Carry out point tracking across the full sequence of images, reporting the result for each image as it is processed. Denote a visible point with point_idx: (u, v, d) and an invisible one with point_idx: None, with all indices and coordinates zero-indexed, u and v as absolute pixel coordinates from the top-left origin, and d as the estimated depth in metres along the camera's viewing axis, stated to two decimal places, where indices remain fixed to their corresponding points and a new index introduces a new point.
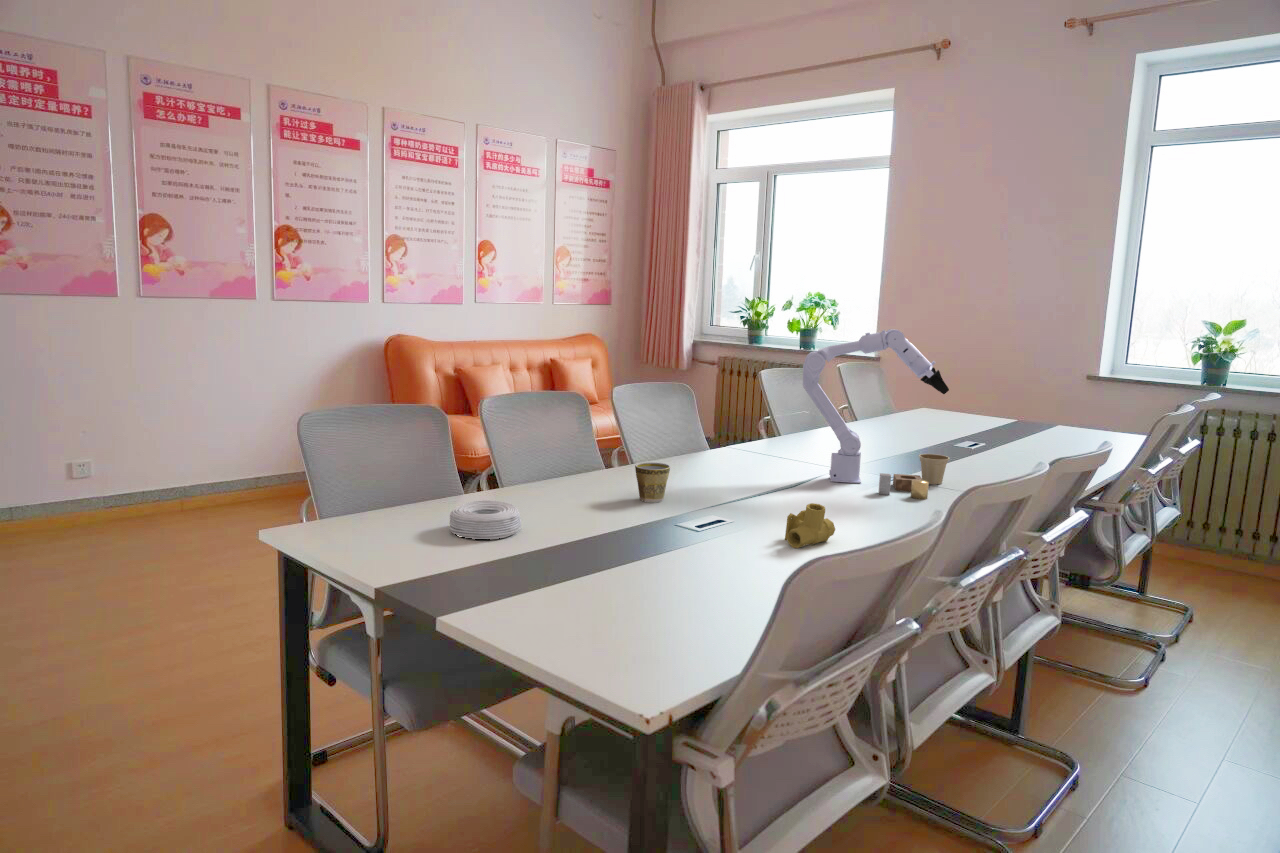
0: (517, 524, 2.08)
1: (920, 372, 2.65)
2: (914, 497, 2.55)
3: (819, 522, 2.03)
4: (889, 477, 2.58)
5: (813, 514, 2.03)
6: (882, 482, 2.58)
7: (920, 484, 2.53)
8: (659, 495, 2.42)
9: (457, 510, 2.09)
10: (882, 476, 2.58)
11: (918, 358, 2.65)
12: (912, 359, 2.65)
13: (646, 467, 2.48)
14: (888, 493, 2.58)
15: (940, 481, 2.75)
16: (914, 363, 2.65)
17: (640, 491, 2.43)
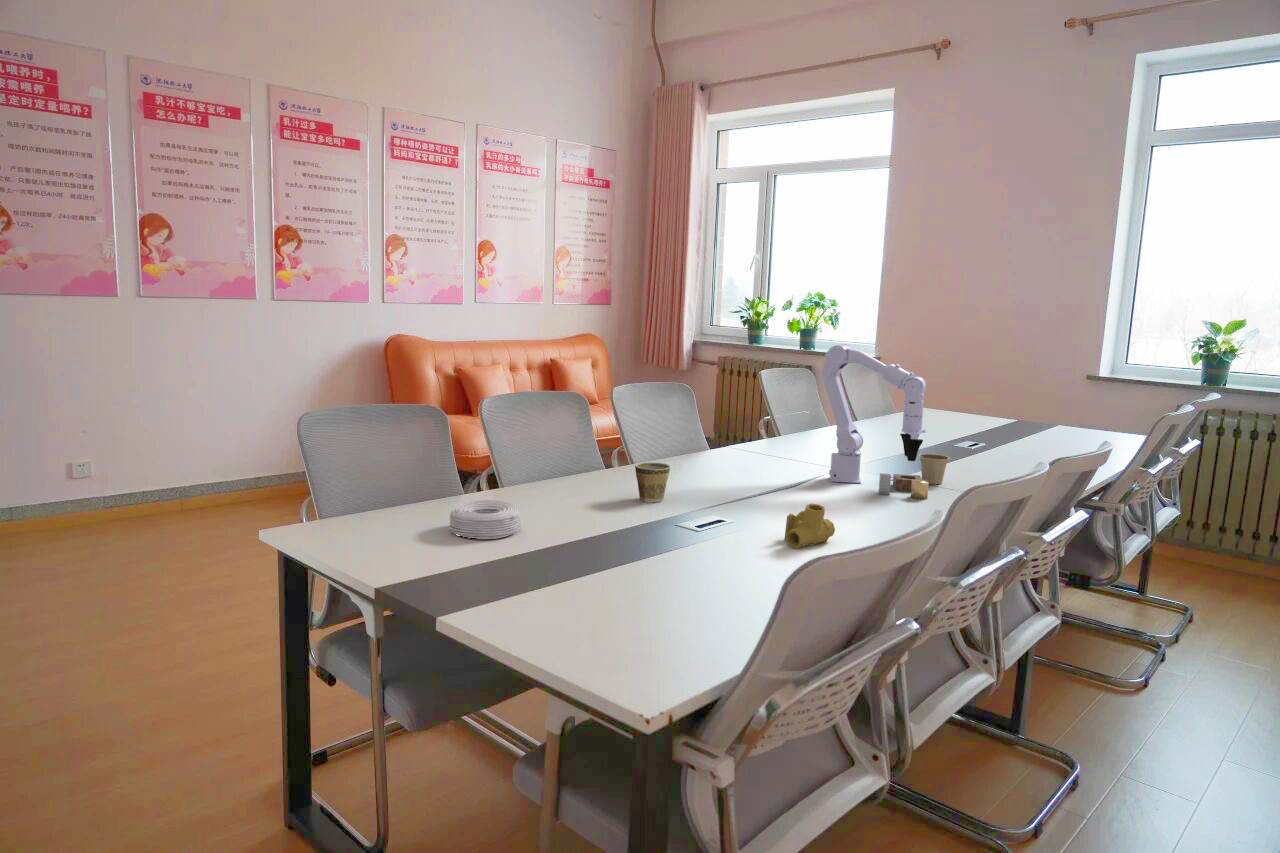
0: (517, 524, 2.08)
1: (908, 429, 2.63)
2: (914, 497, 2.55)
3: (818, 522, 2.03)
4: (889, 477, 2.58)
5: (812, 514, 2.02)
6: (882, 482, 2.58)
7: (920, 484, 2.53)
8: (659, 495, 2.42)
9: (457, 510, 2.09)
10: (882, 476, 2.58)
11: (917, 417, 2.62)
12: (909, 414, 2.62)
13: (646, 467, 2.48)
14: (888, 493, 2.58)
15: (940, 481, 2.75)
16: (910, 418, 2.62)
17: (640, 491, 2.43)
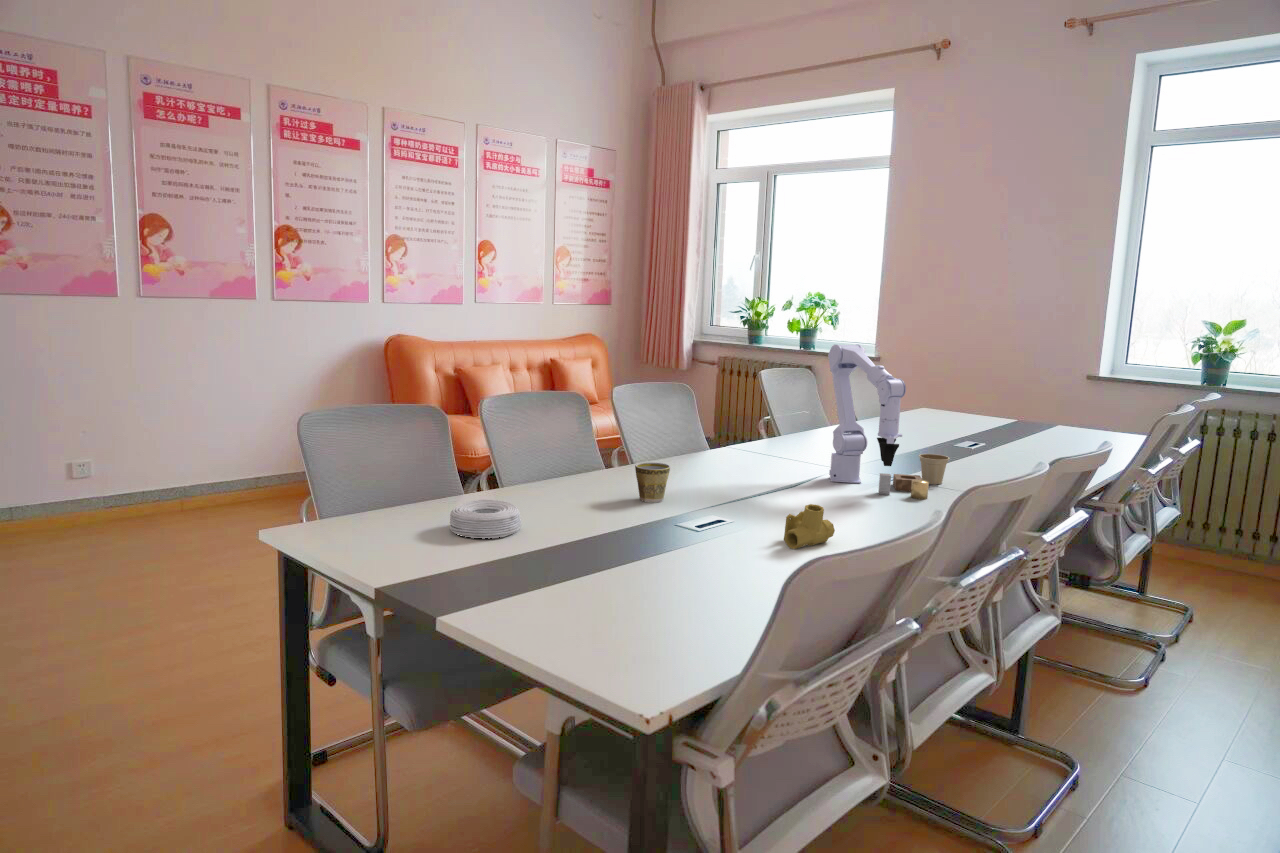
0: (517, 523, 2.08)
1: (884, 433, 2.55)
2: (914, 497, 2.55)
3: (817, 523, 2.02)
4: (889, 477, 2.58)
5: (811, 515, 2.02)
6: (882, 482, 2.58)
7: (920, 484, 2.53)
8: (659, 495, 2.42)
9: (457, 509, 2.10)
10: (882, 476, 2.58)
11: (893, 421, 2.54)
12: (880, 416, 2.56)
13: (646, 467, 2.48)
14: (888, 493, 2.58)
15: (940, 481, 2.75)
16: (887, 422, 2.54)
17: (640, 491, 2.43)
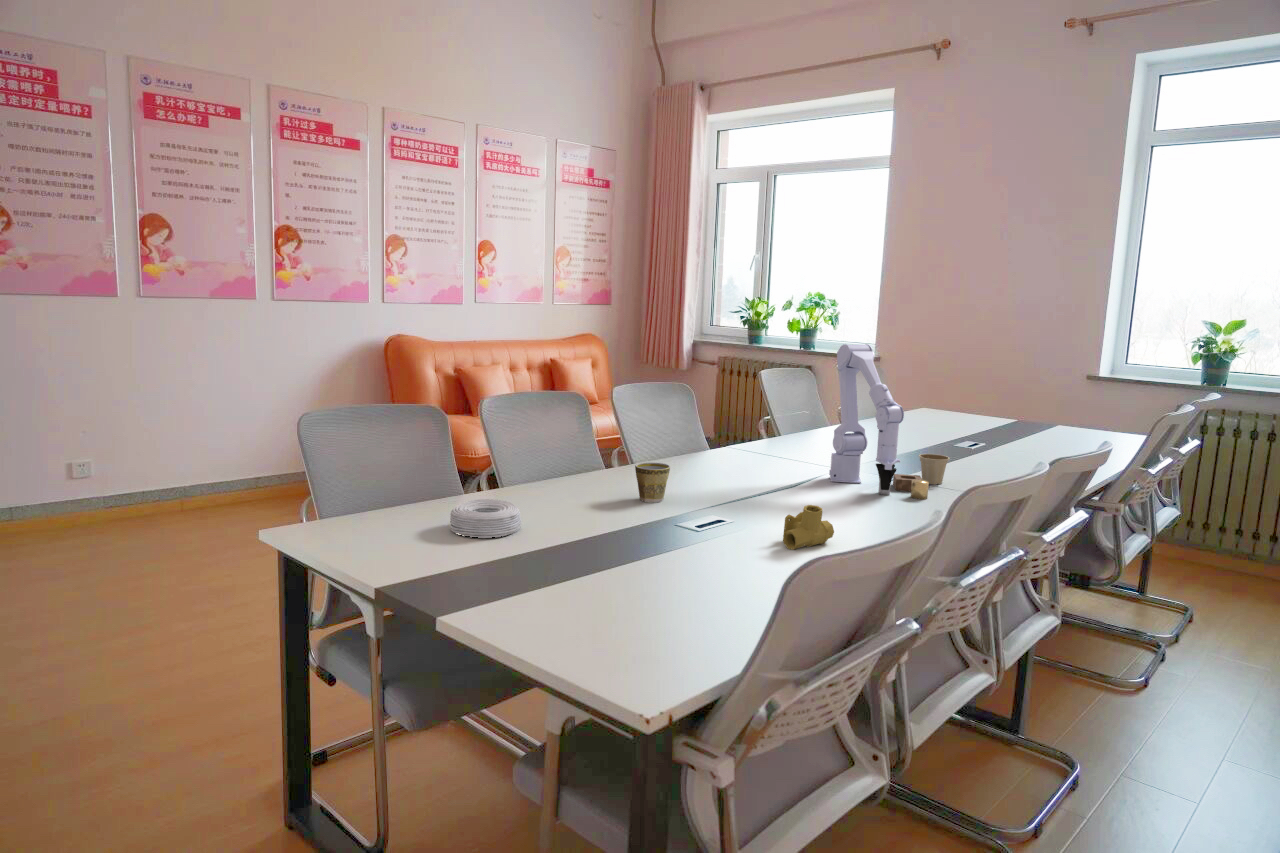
0: (517, 523, 2.09)
1: (882, 458, 2.56)
2: (914, 497, 2.55)
3: (816, 524, 2.02)
4: None
5: (809, 516, 2.01)
6: None
7: (920, 484, 2.53)
8: (659, 495, 2.42)
9: (457, 509, 2.10)
10: None
11: (891, 447, 2.55)
12: (879, 442, 2.57)
13: (646, 467, 2.48)
14: (888, 493, 2.58)
15: (940, 481, 2.75)
16: (885, 447, 2.55)
17: (640, 491, 2.43)
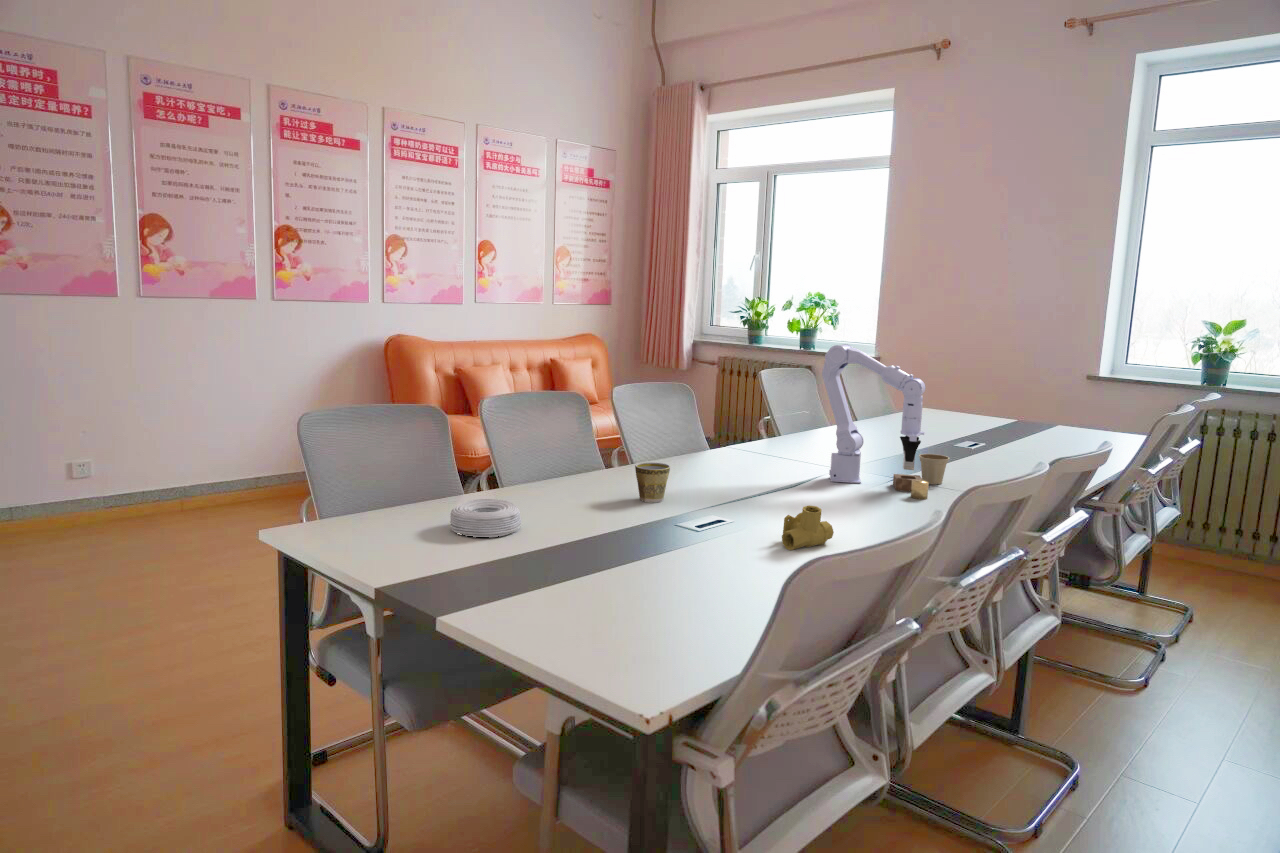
0: (517, 522, 2.09)
1: (906, 431, 2.63)
2: (914, 497, 2.55)
3: (815, 524, 2.01)
4: None
5: (808, 516, 2.01)
6: None
7: (920, 484, 2.53)
8: (659, 495, 2.42)
9: (458, 508, 2.11)
10: None
11: (916, 419, 2.62)
12: (908, 416, 2.62)
13: (646, 467, 2.48)
14: (912, 468, 2.65)
15: (940, 481, 2.75)
16: (909, 420, 2.62)
17: (640, 491, 2.43)
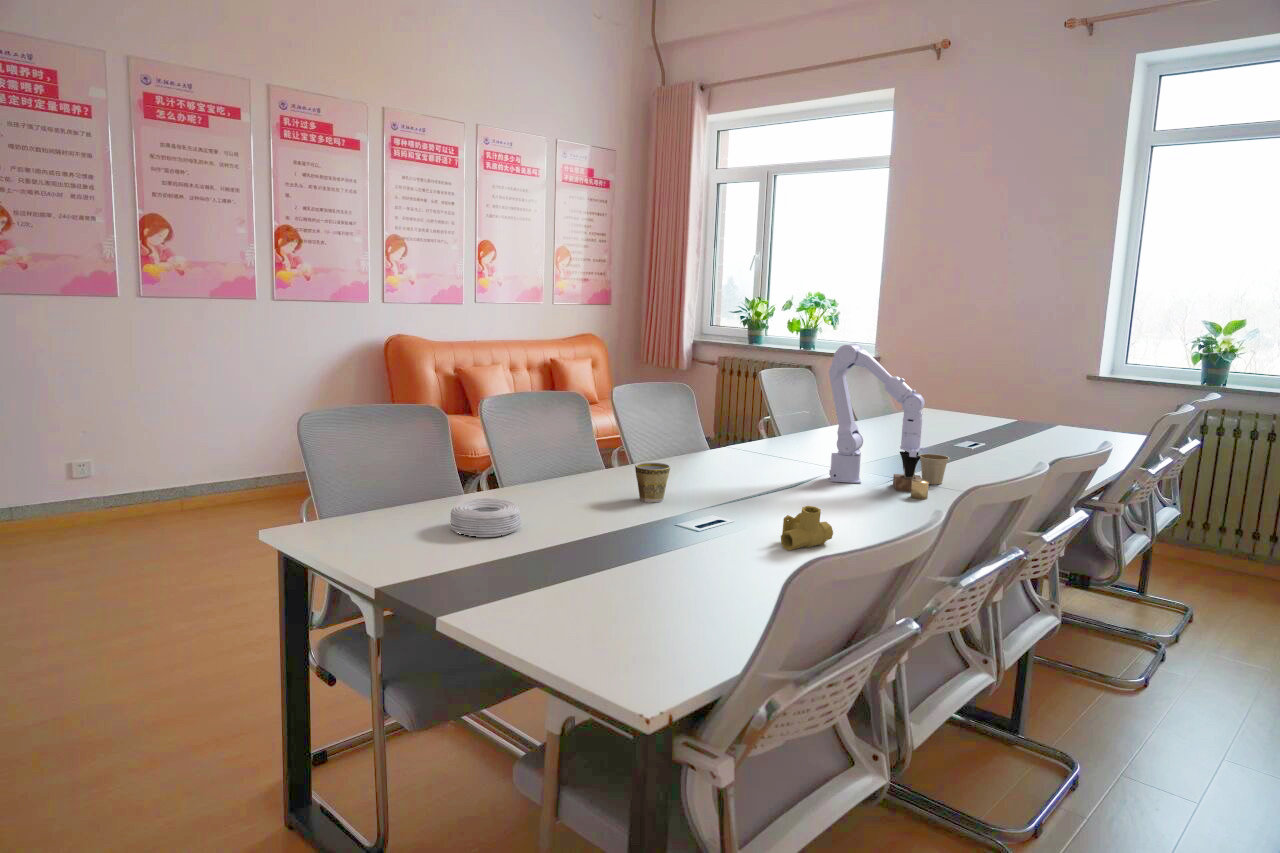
0: (517, 522, 2.10)
1: (906, 446, 2.64)
2: (914, 497, 2.55)
3: (814, 525, 2.01)
4: None
5: (807, 516, 2.00)
6: None
7: (920, 484, 2.53)
8: (659, 495, 2.42)
9: (458, 508, 2.11)
10: None
11: (915, 435, 2.63)
12: (908, 431, 2.63)
13: (646, 467, 2.48)
14: None
15: (940, 481, 2.75)
16: (909, 435, 2.63)
17: (640, 491, 2.43)
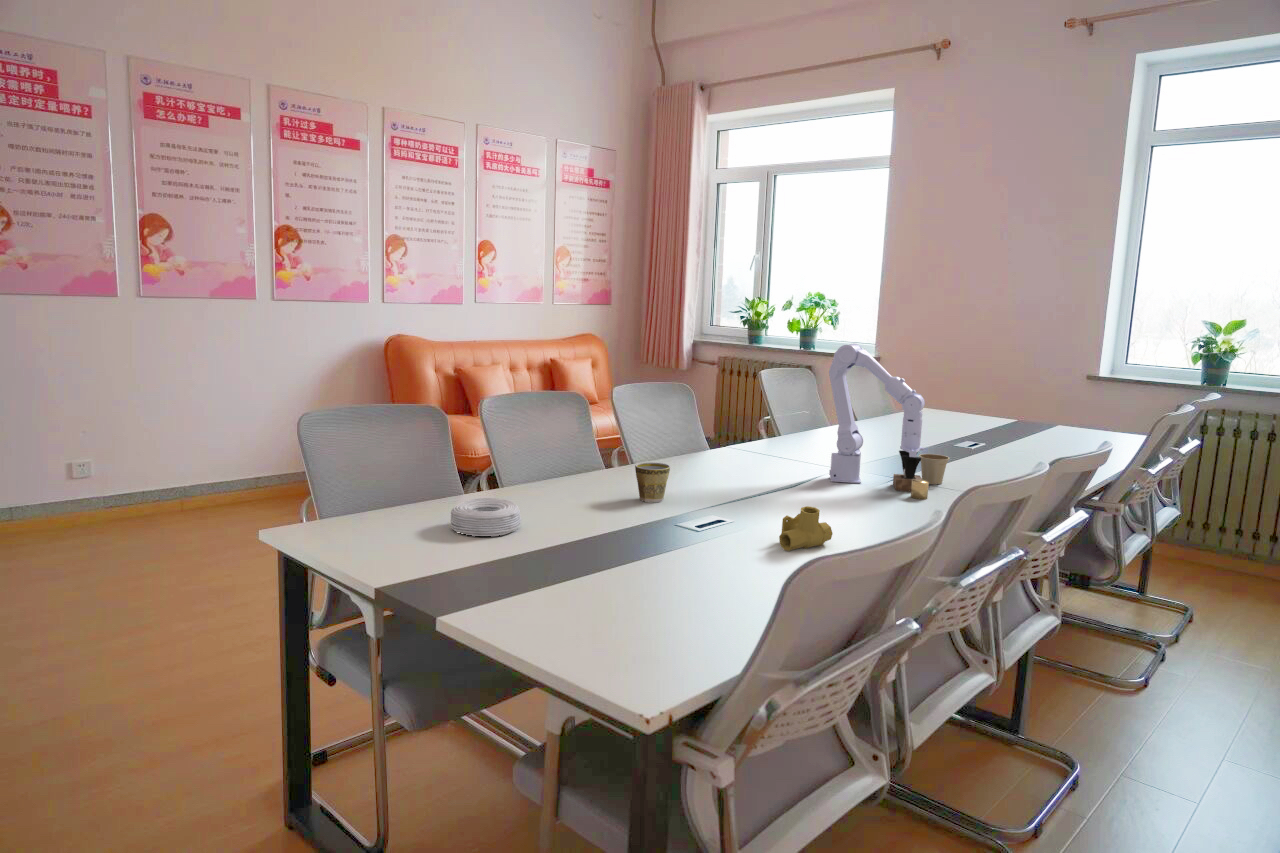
0: (517, 521, 2.10)
1: (906, 446, 2.64)
2: (914, 497, 2.55)
3: (812, 525, 2.00)
4: None
5: (806, 517, 2.00)
6: None
7: (920, 484, 2.53)
8: (659, 495, 2.42)
9: (458, 507, 2.11)
10: None
11: (915, 435, 2.63)
12: (908, 431, 2.63)
13: (646, 467, 2.48)
14: None
15: (940, 481, 2.75)
16: (909, 436, 2.63)
17: (640, 491, 2.43)
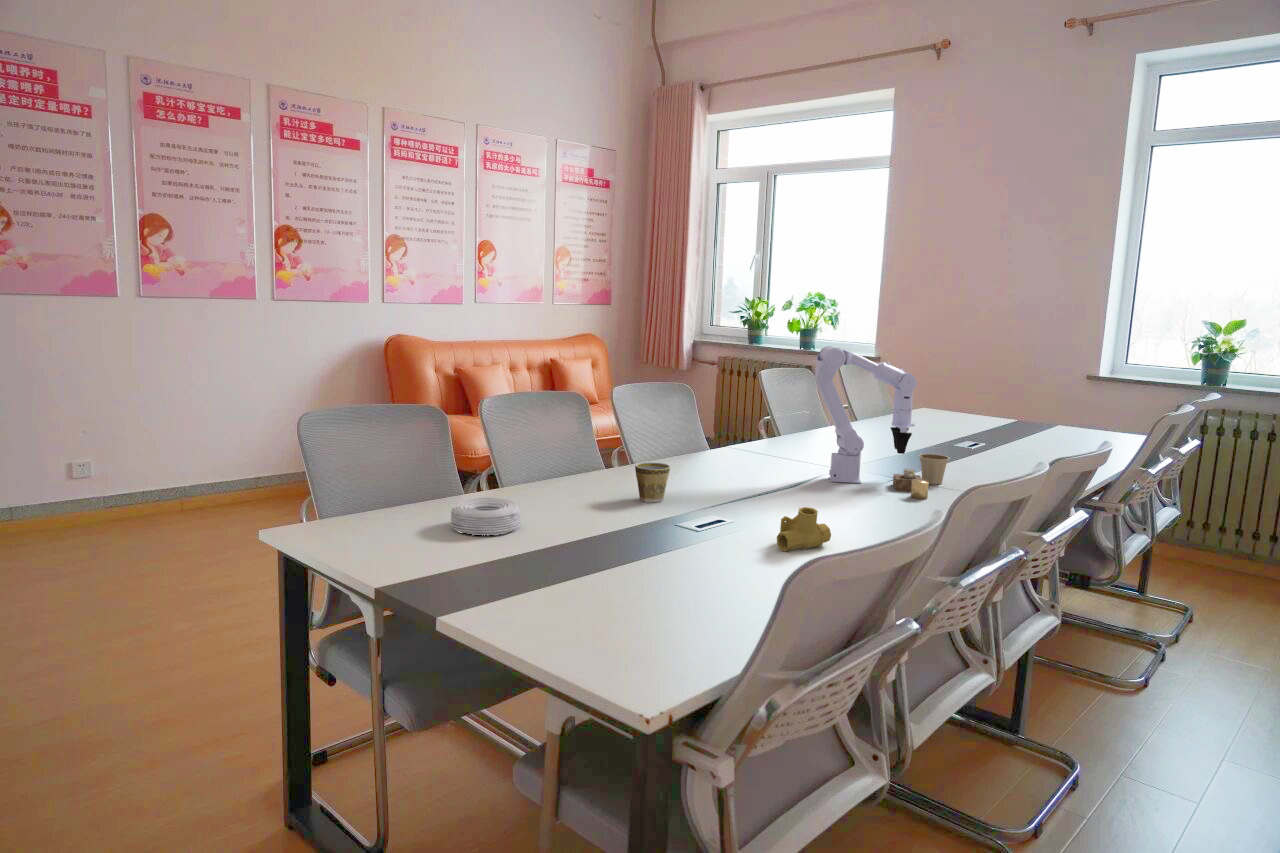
0: (517, 521, 2.11)
1: (897, 422, 2.73)
2: (914, 497, 2.55)
3: (810, 526, 1.99)
4: (913, 472, 2.66)
5: (803, 518, 1.99)
6: (906, 477, 2.66)
7: (920, 484, 2.53)
8: (659, 495, 2.42)
9: (458, 507, 2.12)
10: (906, 471, 2.66)
11: (906, 411, 2.72)
12: (904, 408, 2.72)
13: (646, 467, 2.48)
14: None
15: (940, 481, 2.75)
16: (900, 412, 2.72)
17: (640, 491, 2.43)
